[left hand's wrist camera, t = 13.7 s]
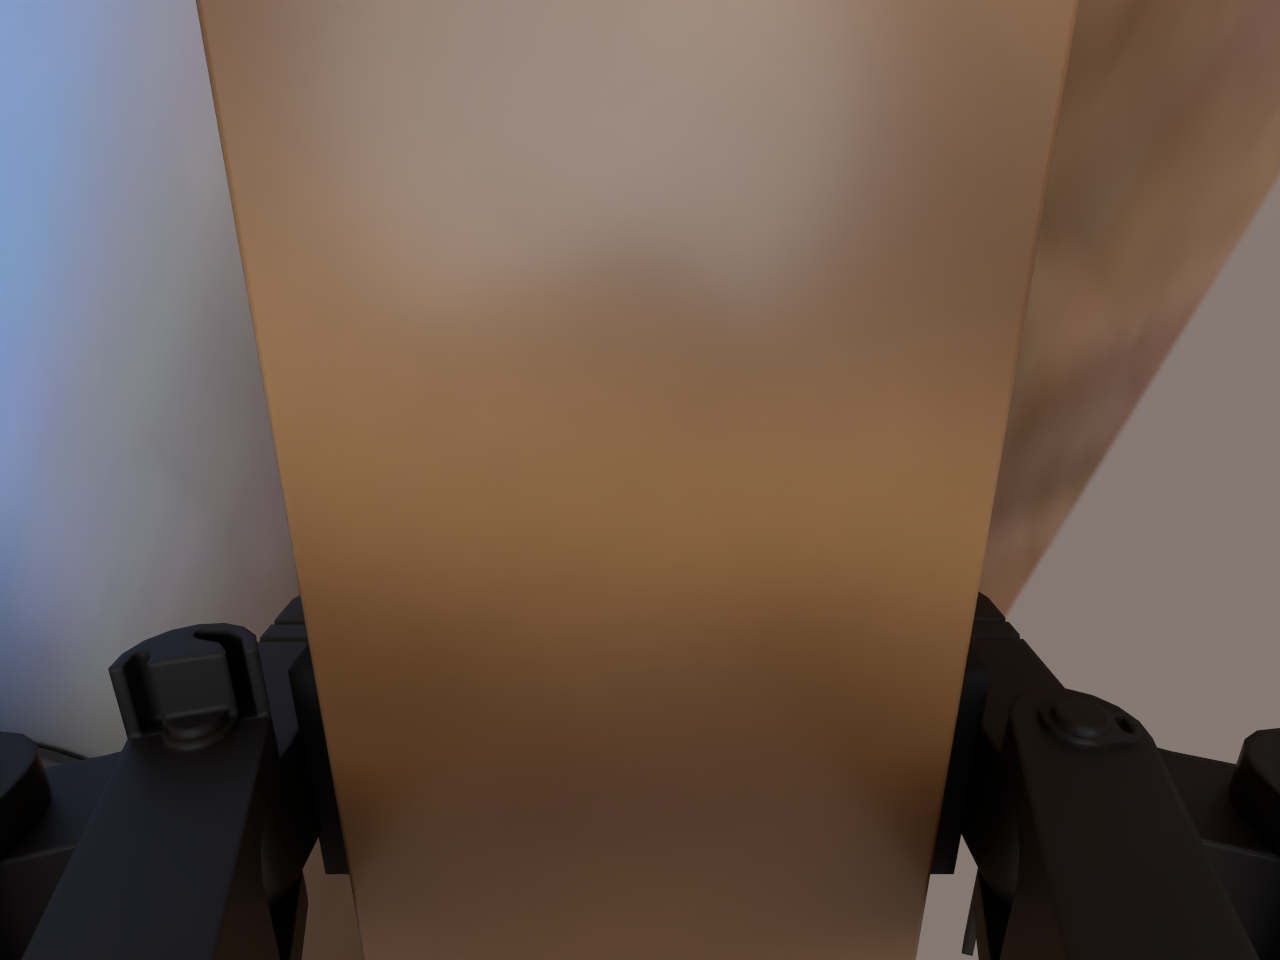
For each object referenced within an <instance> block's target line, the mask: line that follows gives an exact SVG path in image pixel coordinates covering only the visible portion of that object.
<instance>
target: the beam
mask: <svg viewBox="0 0 1280 960" xmlns="http://www.w3.org/2000/svg"><path fill="white" fill-rule="evenodd" d="M1078 3H1079V0H196V4H197V10H198V15H199V21H200V27H201V33H202V38H203V44H204V50H205V55H206V61H207V67H208V72H209V78H210V84H211V89H212V95H213V101H214V107H215V112H216V118H217V124H218V129H219V135H220V141H221V146H222V152H223V158H224V163H225V169H226V175H227V180H228V186H229V192H230V198H231V203H232V209H233V215H234V220H235V226H236V232H237V237H238V243H239V249H240V254H241V260H242V266H243V272H244V277H245V283H246V289H247V294H248V300H249V306H250V311H251V317H252V323H253V328H254V334H255V340H256V346H257V351H258V357H259V363H260V368H261V374H262V380H263V385H264V391H265V397H266V402H267V408H268V414H269V420H270V425H271V431H272V437H273V442H274V448H275V454H276V459H277V465H278V471H279V476H280V482H281V488H282V494H283V499H284V505H285V511H286V516H287V522H288V528H289V533H290V539H291V545H292V550H293V556H294V562H295V568H296V573H297V579H298V585H299V590H300V596H301V602H302V607H303V613H304V619H305V624H306V630H307V636H308V642H309V647H310V653H311V659H312V664H313V670H314V676H315V681H316V687H317V693H318V698H319V704H320V710H321V716H322V721H323V727H324V733H325V738H326V744H327V750H328V755H329V761H330V767H331V772H332V778H333V784H334V790H335V795H336V801H337V807H338V812H339V818H340V824H341V829H342V835H343V841H344V846H345V852H346V858H347V864H348V869H349V875H350V881H351V886H352V892H353V898H354V903H355V909H356V915H357V920H358V926H359V932H360V938H361V943H362V949H363V955H364V960H916V954H917V949H918V943H919V937H920V931H921V925H922V919H923V913H924V907H925V901H926V896H927V890H928V884H929V878H930V872H931V866H932V861H933V855H934V849H935V843H936V837H937V831H938V825H939V819H940V814H941V808H942V802H943V796H944V790H945V784H946V778H947V772H948V767H949V761H950V755H951V749H952V743H953V737H954V731H955V725H956V720H957V714H958V708H959V702H960V696H961V690H962V684H963V679H964V673H965V667H966V661H967V655H968V649H969V643H970V637H971V632H972V626H973V620H974V614H975V608H976V602H977V596H978V590H979V585H980V579H981V573H982V567H983V561H984V555H985V549H986V543H987V538H988V532H989V526H990V520H991V514H992V508H993V502H994V496H995V491H996V485H997V479H998V473H999V467H1000V461H1001V455H1002V449H1003V444H1004V438H1005V432H1006V426H1007V420H1008V414H1009V408H1010V403H1011V397H1012V391H1013V385H1014V379H1015V373H1016V367H1017V361H1018V356H1019V350H1020V344H1021V338H1022V332H1023V326H1024V320H1025V314H1026V309H1027V303H1028V297H1029V291H1030V285H1031V279H1032V273H1033V267H1034V262H1035V256H1036V250H1037V244H1038V238H1039V232H1040V226H1041V220H1042V215H1043V209H1044V203H1045V197H1046V191H1047V185H1048V179H1049V174H1050V168H1051V162H1052V156H1053V150H1054V144H1055V138H1056V132H1057V127H1058V121H1059V115H1060V109H1061V103H1062V97H1063V91H1064V85H1065V80H1066V74H1067V68H1068V62H1069V56H1070V50H1071V44H1072V38H1073V33H1074V27H1075V21H1076V15H1077V9H1078Z"/></svg>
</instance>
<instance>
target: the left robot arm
mask: <svg viewBox="0 0 1280 960" xmlns="http://www.w3.org/2000/svg"><path fill="white" fill-rule="evenodd" d="M108 670H109V673H110V677H111V681H112V684H113V688H114V691H115V695H116V698H117V702H118V705H119V709H120V713H121V716H122V720H123V723H124V727H125V730H126V734H127V737H128V740H127V742H126V744H125V746H124V748H123V750H122V751H121V752H117V753H113V754H110V755H105V756H100V757H95V758H90V759H85V760H78V759H76V758H73V757H70V756H67V755H64V754H61V753H58V752H54V751H51V750H47V749H43V748H39V747H37V745H36V743H35V742H34V741H32V740H31V739H29V738H28V737H27V736H25V735H24V734H17V733H8V732H0V960H301V959H302V951H303V942H304V934H305V926H306V917H307V909H308V898H307V891H306V885H305V880H304V875H303V870H302V869H303V867H304V865H305V863H306V861H307V859H308V857H309V855H310V853H311V851H312V849H313V847H314V845H315V843H316V841H317V839H318V837H319V841H320V846H321V852H322V857H323V862H324V868H325V873H326V874H349V869H348V864H347V858H346V852H345V846H344V841H343V835H342V829H341V824H340V818H339V812H338V807H337V801H336V795H335V790H334V784H333V778H332V772H331V767H330V761H329V755H328V750H327V744H326V738H325V733H324V727H323V721H322V716H321V710H320V704H319V698H318V693H317V687H316V681H315V676H314V670H313V664H312V659H311V653H310V647H309V642H308V636H307V630H306V624H305V619H304V613H303V607H302V602H301V596H300V595H299V596H298V597H296V598H294V599H293V600H291V602H290V603H289V604H288V605H287V606H286V608H285V609H284V610H283V611H282V612H281V613H280V615H279V616H278V617H277V618H276V619H275V623H274V625H270V627H269V628H268V629H267V630H266V631H265V632H264V634H263V635H262V636H261V637H260V642H257V640H256V635H254V634H253V633H252V632H250V631H249V630H248V629H246V628H245V627H242V626H237V625H232V624H226V623H216V624H198V625H193V626H189V627H184V628H179V629H175V630H171V631H168V632H166V633H163V634H160V635H158V636H155V637H152V638H150V639H147V640H145V641H143V642H141V643H140V644H138V645H136V646H135V647H133V648H131V649H130V650H128V651H126V652H125V653H123V654H122V655H121V656H120V657H119V658H118V659H117V660H116V661H115V662H114V663H113V664H112V665H111V666H110V667H109V668H108ZM961 834H962V836H963V838H964V840H965V842H966V844H967V846H968V848H969V850H970V852H971V854H972V856H973V858H974V860H975V862H976V864H977V866H978V870H977V875H976V880H975V885H974V890H973V895H972V900H971V905H970V910H969V915H968V920H967V925H966V930H965V935H964V941H963V948H962V954H967V955H971V956H972V955H973V951H974V946H975V941H976V940H977V949H978V957H979V960H1280V728H1276V729H1267V730H1258V731H1256V732H1254V733H1253V734H1252V735H1250V736H1249V737H1247V738H1246V739H1245V740H1244V743H1243V746H1242V749H1241V752H1240V755H1239V758H1238V761H1237V764H1232V763H1227V762H1222V761H1217V760H1212V759H1207V758H1202V757H1197V756H1192V755H1187V754H1182V753H1177V752H1172V751H1168V750H1164V749H1160V748H1157V747H1156V744H1155V742H1154V740H1153V738H1152V737H1151V736H1150V734H1149V733H1148V732H1147V731H1146V729H1145V728H1144V727H1143V725H1142V724H1141V723H1140V722H1139V721H1138V720H1136V719H1135V718H1134V717H1132V716H1131V715H1130V714H1128V713H1127V712H1125V711H1124V710H1122V709H1121V708H1120V707H1118V706H1116V705H1114V704H1111V703H1109V702H1107V701H1105V700H1102V699H1100V698H1098V697H1095V696H1093V695H1090V694H1086V693H1082V692H1078V691H1074V690H1069V689H1065V688H1064V687H1063V685H1062V684H1061V683H1060V682H1059V681H1058V679H1057V678H1056V677H1055V676H1054V675H1053V674H1052V672H1051V671H1050V670H1049V669H1048V668H1047V667H1046V665H1045V664H1044V663H1043V662H1042V661H1041V659H1040V658H1039V657H1038V656H1037V655H1036V654H1035V652H1034V651H1033V650H1032V649H1031V648H1030V647H1029V645H1028V644H1027V643H1026V642H1025V641H1024V639H1020V635H1019V633H1018V632H1017V631H1016V630H1015V629H1014V628H1013V626H1012V625H1011V624H1010V623H1009V622H1005V617H1004V616H1003V615H1002V613H1001V612H1000V611H999V610H998V609H997V607H996V606H995V605H994V604H993V603H992V602H991V600H990V599H989V598H988V597H987V596H985V595H983V594H982V593H980V592H978V596H977V602H976V608H975V614H974V620H973V626H972V632H971V637H970V643H969V649H968V655H967V661H966V667H965V673H964V679H963V684H962V690H961V696H960V702H959V708H958V714H957V720H956V725H955V731H954V737H953V743H952V749H951V755H950V761H949V767H948V772H947V778H946V784H945V790H944V796H943V802H942V808H941V814H940V819H939V825H938V831H937V837H936V843H935V849H934V855H933V861H932V866H931V872H930V874H954V870H955V864H956V859H957V854H958V848H959V843H960V838H961Z"/></svg>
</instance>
